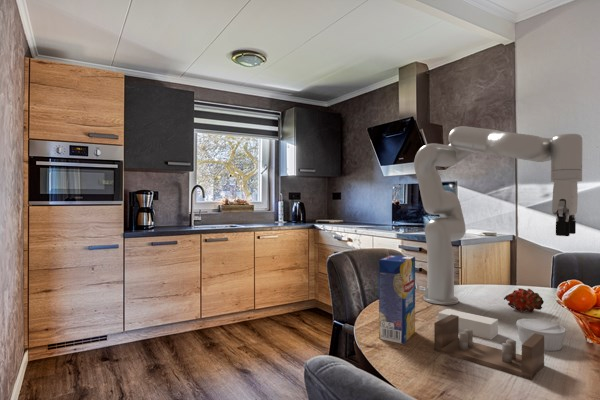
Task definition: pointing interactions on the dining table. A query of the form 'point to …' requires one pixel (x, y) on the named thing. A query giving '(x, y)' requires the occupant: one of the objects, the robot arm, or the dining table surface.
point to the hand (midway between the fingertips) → (565, 234)
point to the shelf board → (473, 323)
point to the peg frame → (489, 349)
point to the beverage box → (396, 298)
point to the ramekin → (542, 332)
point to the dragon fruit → (524, 300)
